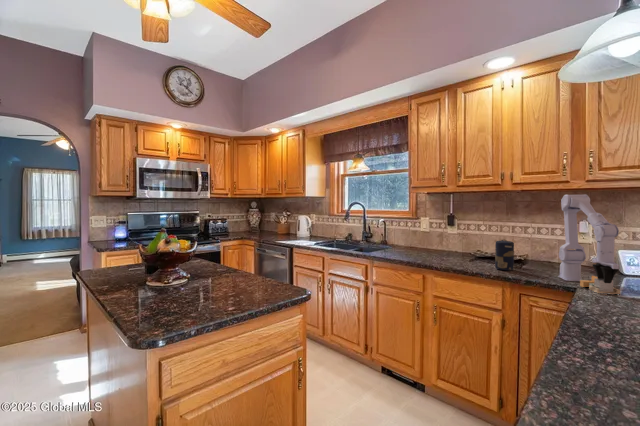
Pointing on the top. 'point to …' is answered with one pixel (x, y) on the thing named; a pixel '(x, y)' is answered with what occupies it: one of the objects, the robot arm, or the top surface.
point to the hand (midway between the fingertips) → (604, 281)
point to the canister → (504, 255)
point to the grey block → (603, 285)
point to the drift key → (587, 282)
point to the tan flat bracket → (615, 291)
